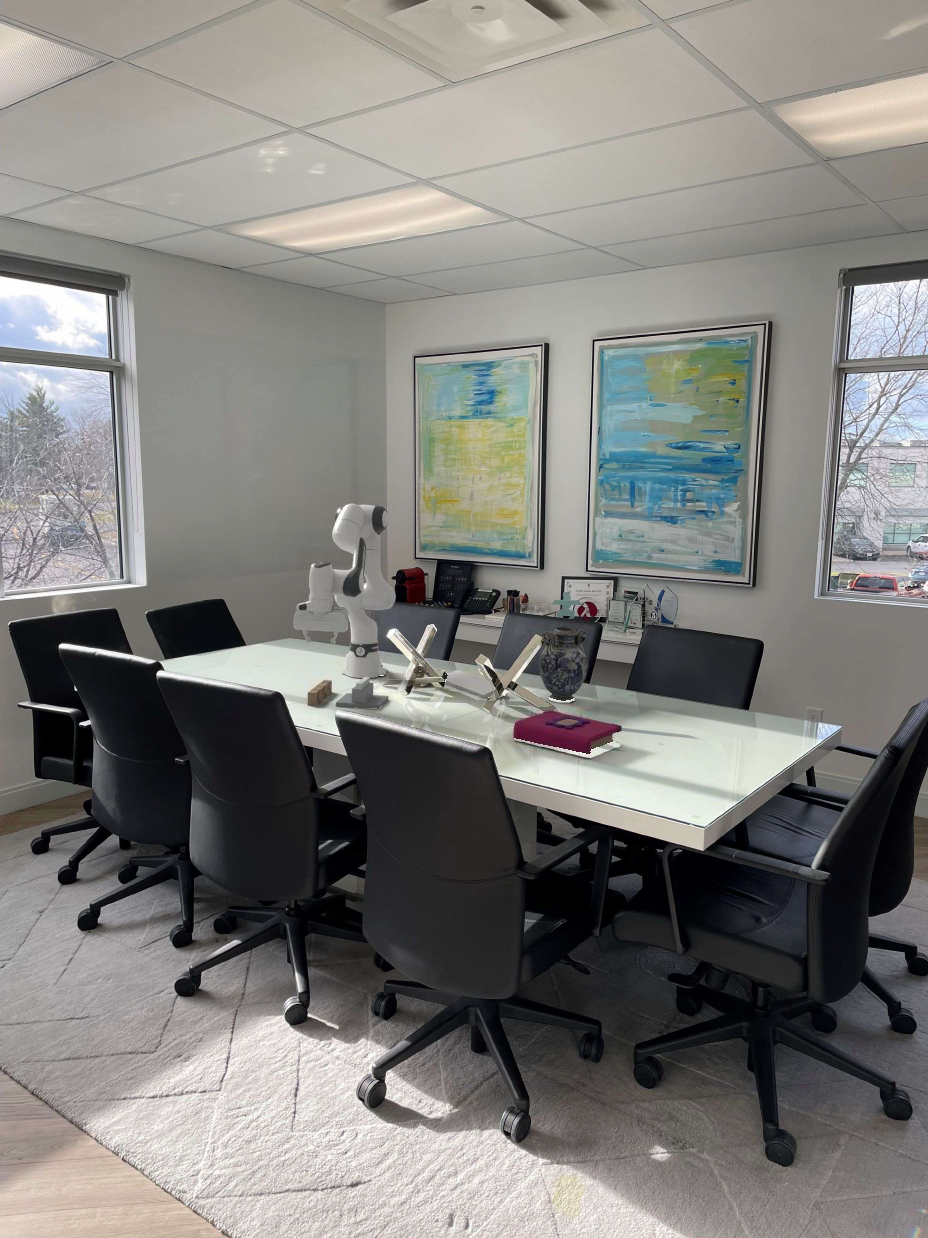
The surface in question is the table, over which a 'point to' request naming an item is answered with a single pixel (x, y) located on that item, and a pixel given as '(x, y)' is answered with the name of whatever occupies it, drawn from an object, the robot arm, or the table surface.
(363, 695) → the stand
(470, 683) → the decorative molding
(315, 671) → the table surface
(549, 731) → the book
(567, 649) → the decorative vase
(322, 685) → the brown wooden bar
